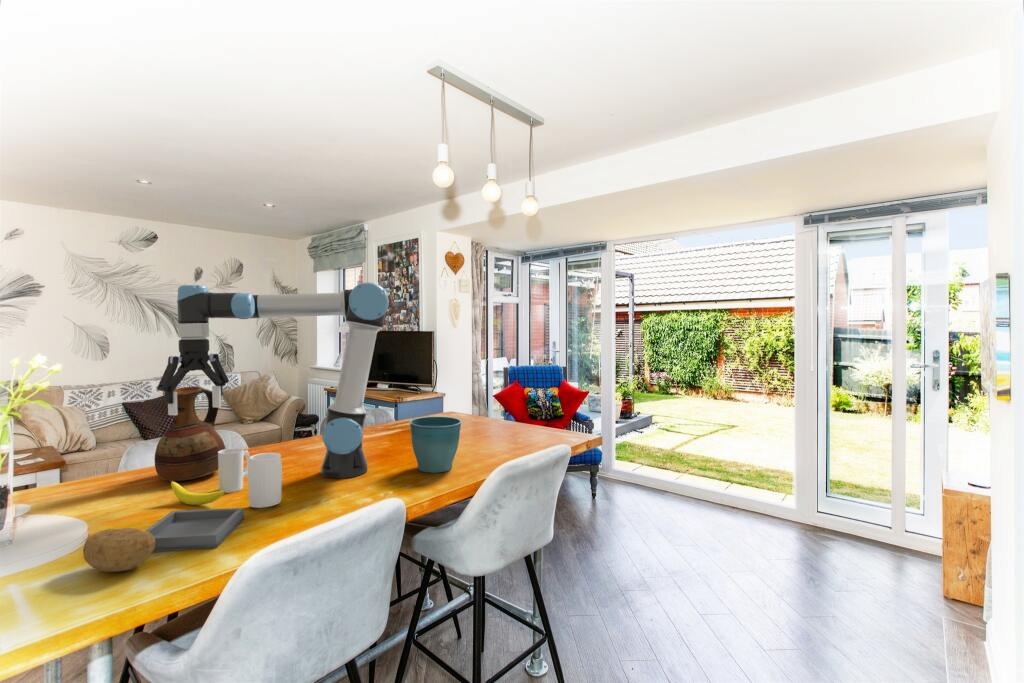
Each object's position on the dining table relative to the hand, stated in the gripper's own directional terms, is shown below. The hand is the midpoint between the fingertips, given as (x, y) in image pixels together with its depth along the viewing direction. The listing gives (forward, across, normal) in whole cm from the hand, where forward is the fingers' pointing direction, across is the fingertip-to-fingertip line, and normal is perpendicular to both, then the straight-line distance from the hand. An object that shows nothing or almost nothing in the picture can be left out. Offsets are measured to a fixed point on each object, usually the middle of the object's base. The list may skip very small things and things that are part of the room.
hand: (195, 411), depth 145 cm
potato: (+25, +37, +26) cm, 52 cm away
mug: (+25, -9, +4) cm, 27 cm away
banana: (+25, +6, +7) cm, 27 cm away
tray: (+25, +20, +24) cm, 40 cm away
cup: (+26, 0, +26) cm, 36 cm away
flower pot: (+26, -50, +51) cm, 76 cm away
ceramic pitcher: (+25, -13, -19) cm, 34 cm away
